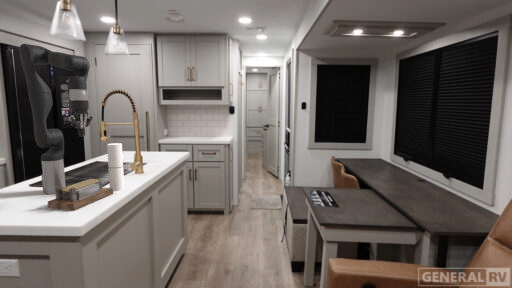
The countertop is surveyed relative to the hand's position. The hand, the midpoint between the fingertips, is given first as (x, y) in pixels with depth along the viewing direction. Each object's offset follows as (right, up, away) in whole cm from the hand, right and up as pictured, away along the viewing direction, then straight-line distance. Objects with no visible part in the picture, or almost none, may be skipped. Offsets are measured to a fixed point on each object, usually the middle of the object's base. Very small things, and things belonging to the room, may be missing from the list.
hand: (81, 136), depth 133 cm
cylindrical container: (+6, -29, +21) cm, 36 cm away
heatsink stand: (-1, -31, +2) cm, 31 cm away
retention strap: (-1, -24, 0) cm, 24 cm away
